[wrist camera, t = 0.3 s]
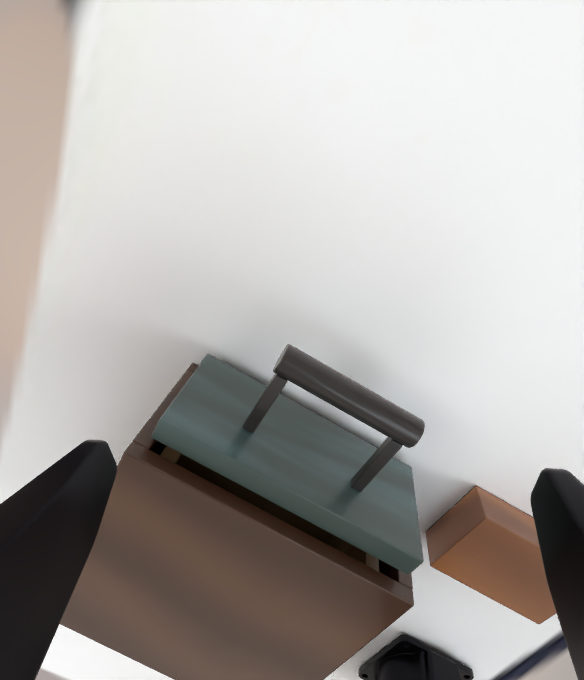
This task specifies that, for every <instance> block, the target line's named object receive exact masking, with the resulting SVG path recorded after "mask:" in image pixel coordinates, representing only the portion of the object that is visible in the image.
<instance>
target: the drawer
mask: <svg viewBox="0 0 584 680" xmlns="http://www.w3.org/2000/svg"><path fill="white" fill-rule="evenodd" d="M273 372H274V373H275V375H274V376H273V378H272V379H271V381H270V383H269V384H268V386H265V385H264V384H262V383H260V382H258V381H256V380H255V379H253V378H251V377H249V376H248V375H246V374H244V373H242V372H240V371H239V370H237V369H235V368H233V367H231V366H230V365H228V364H226V363H224V362H222V361H221V360H219V359H217V358H215V357H214V356H212V355H210V354H207V355H206V357H205V358H204V359H203V361H202V362H201V363H200V365H199V366H198V367H197V369H196V370H195V372H194V373H193V374H192V376H191V377H190V378H189V380H188V381H187V382H186V384H185V385H184V387H183V388H182V389H181V391H180V392H179V393H178V395H177V396H176V398H175V399H174V400H173V402H172V403H171V404H170V406H169V407H168V408H167V410H166V411H165V413H164V414H163V415H162V417H161V418H160V419H159V421H158V423H157V425H156V427H155V429H154V431H153V433H152V435H151V437H152V438H153V439H155V440H157V441H159V442H161V443H162V444H164V445H166V447H165V449H164V450H163V452H162V453H161V455H160V456H162V457H164V458H166V459H168V460H170V461H171V462H173V463H175V464H177V465H179V466H181V467H183V468H185V469H186V470H188V471H190V472H192V473H194V474H196V475H198V476H200V477H201V478H203V479H205V480H207V481H209V482H211V483H213V484H215V485H217V486H218V487H220V488H222V489H224V490H226V491H228V492H230V493H232V494H233V495H235V496H237V497H239V498H241V499H243V500H245V501H247V502H248V503H250V504H252V505H254V506H256V507H258V508H260V509H262V510H264V511H265V512H267V513H269V514H271V515H273V516H275V517H277V518H279V519H280V520H282V521H284V522H286V523H288V524H290V525H292V526H294V527H296V528H297V529H299V530H301V531H303V532H305V533H307V534H309V535H311V536H312V537H314V538H316V539H318V540H320V541H322V542H324V543H326V544H327V545H329V546H331V547H333V548H335V549H337V550H339V551H341V552H343V553H344V554H346V555H348V556H350V557H352V558H354V559H356V560H358V561H359V562H361V563H363V564H365V565H367V566H369V567H371V568H373V569H374V570H376V571H378V572H379V560H381V561H383V562H385V563H387V564H389V565H391V566H393V567H394V568H396V569H398V570H400V571H402V572H404V573H406V574H408V575H409V574H410V573H411V572H412V571H413V570H415V569H416V568H417V567H418V566H419V565H420V564H421V563H423V553H422V545H421V538H420V530H419V522H418V514H417V506H416V499H415V491H414V483H413V475H412V468H411V467H410V466H409V465H407V464H405V463H403V462H401V461H400V460H398V459H396V458H394V457H393V456H394V455H395V454H396V453H397V452H398V451H399V450H400V448H401V447H402V445H404V446H406V447H408V448H411V447H413V446H415V445H416V444H417V443H418V441H419V440H420V438H421V436H422V434H423V432H424V427H425V424H424V421H423V420H421V419H420V418H418V417H416V416H414V415H413V414H411V413H409V412H407V411H406V410H404V409H402V408H400V407H399V406H397V405H395V404H393V403H392V402H390V401H388V400H386V399H385V398H383V397H381V396H379V395H378V394H376V393H374V392H372V391H371V390H369V389H367V388H365V387H364V386H362V385H360V384H358V383H357V382H355V381H353V380H351V379H350V378H348V377H346V376H344V375H343V374H341V373H339V372H337V371H336V370H334V369H332V368H330V367H329V366H327V365H325V364H323V363H322V362H320V361H318V360H316V359H315V358H313V357H311V356H309V355H308V354H306V353H304V352H302V351H300V350H299V349H297V348H295V347H293V346H292V345H290V344H288V345H287V346H286V348H285V349H284V351H283V352H282V354H281V355H280V357H279V359H278V361H277V363H276V365H275V367H274V370H273ZM287 381H290V382H292V383H294V384H296V385H297V386H299V387H301V388H303V389H304V390H306V391H308V392H310V393H312V394H313V395H315V396H317V397H319V398H320V399H322V400H324V401H326V402H328V403H329V404H331V405H333V406H335V407H336V408H338V409H340V410H342V411H344V412H345V413H347V414H349V415H351V416H352V417H354V418H356V419H358V420H360V421H361V422H363V423H365V424H367V425H368V426H370V427H372V428H374V429H376V430H377V431H379V432H381V433H383V434H384V435H386V436H388V437H387V439H386V440H385V441H384V442H383V443H382V444H381V445H380V447H379V448H376V447H375V446H373V445H371V444H369V443H367V442H366V441H364V440H362V439H360V438H358V437H357V436H355V435H353V434H351V433H350V432H348V431H346V430H344V429H342V428H341V427H339V426H337V425H335V424H333V423H332V422H330V421H328V420H326V419H324V418H323V417H321V416H319V415H317V414H316V413H314V412H312V411H310V410H308V409H307V408H305V407H303V406H301V405H299V404H298V403H296V402H294V401H292V400H290V399H289V398H287V397H285V396H283V395H282V394H280V392H281V391H282V389H283V388H284V386H285V384H286V383H287Z"/></svg>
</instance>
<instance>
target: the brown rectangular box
mask: <svg viewBox="0 0 584 680" xmlns="http://www.w3.org/2000/svg"><path fill="white" fill-rule="evenodd" d="M426 539H427V546H428V553H429V560H430V566H432V567H433V568H435V569H437V570H439V571H441V572H443V573H444V574H446V575H448V576H450V577H452V578H454V579H456V580H457V581H459V582H461V583H463V584H465V585H467V586H469V587H470V588H472V589H474V590H476V591H478V592H480V593H482V594H483V595H485V596H487V597H489V598H491V599H493V600H495V601H496V602H498V603H500V604H502V605H504V606H506V607H508V608H509V609H511V610H513V611H515V612H517V613H519V614H521V615H522V616H524V617H526V618H528V619H530V620H532V621H534V622H535V623H537V624H541V623H542V622H544V621H545V620H547V619H548V618H550V617H551V616H553V615H554V614H556V613H557V612H556V609H555V606H554V603H553V600H552V597H551V593H550V590H549V587H548V583H547V579H546V575H545V570H544V565H543V561H542V556H541V551H540V546H539V541H538V536H537V531H536V527H535V522H534V518H533V517H531V516H529V515H528V514H526V513H524V512H522V511H520V510H519V509H517V508H515V507H513V506H512V505H510V504H508V503H506V502H505V501H503V500H501V499H499V498H497V497H496V496H494V495H492V494H490V493H489V492H487V491H485V490H483V489H481V488H480V487H478V486H475V487H474V488H473V489H472V490H471V491H470V492H469V493H468V494H466V495H465V496H464V497H463V498H462V499H461V500H460V501H459V502H458V503H457V504H456V505H455V506H453V507H452V508H451V509H450V510H449V511H448V512H447V513H446V514H445V515H444V516H443V517H442V518H441V519H439V520H438V521H437V522H436V523H435V524H434V525H433V526H432V527H431V528H430V529H429V530H428V531H426Z"/></svg>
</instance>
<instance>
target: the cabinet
mask: <svg viewBox="0 0 584 680" xmlns="http://www.w3.org/2000/svg"><path fill="white" fill-rule="evenodd" d="M197 367H198V366H197V365H195V364H194V363H192V364H191V366H190V367H189V368H188V370H187V371H186V372H185V374H184V375H183V376H182V377H181V379H180V380H179V381H178V383H177V384H176V385H175V387H174V388H173V389H172V390H171V392H170V393H169V394H168V396H167V397H166V398H165V400H164V401H163V402H162V403H161V405H160V406H159V407H158V409H157V410H156V411H155V413H154V414H153V415H152V416H151V418H150V419H149V420H148V422H147V423H146V424H145V426H144V427H143V428H142V430H141V431H140V432H139V433H138V435H137V436H136V437H135V439H134V440H133V442H132V443H131V444H130V445H129V447H128V448H127V449H126V450H125V452H124V454H123V456H122V458H121V460H120V462H119V464H118V466H117V473H116V477H115V480H114V483H113V487H112V490H111V493H110V496H109V499H108V502H107V505H106V509H105V512H104V515H103V518H102V521H101V524H100V527H99V531H98V533H97V536H96V539H95V542H94V544H93V547H92V549H91V552H90V554H89V557H88V559H87V561H86V563H85V566H84V568H83V570H82V573H81V575H80V577H79V580H78V582H77V584H76V586H75V589H74V591H73V593H72V596H71V598H70V600H69V603H68V605H67V607H66V610H65V612H64V614H63V616H62V619H61V621H60V623H59V624H61V625H63V626H65V627H67V628H69V629H71V630H73V631H76V632H78V633H80V634H82V635H84V636H86V637H88V638H90V639H92V640H94V641H96V642H98V643H100V644H102V645H104V646H106V647H108V648H110V649H113V650H115V651H117V652H119V653H121V654H123V655H125V656H127V657H129V658H131V659H133V660H135V661H137V662H139V663H141V664H143V665H145V666H148V667H150V668H152V669H154V670H156V671H158V672H160V673H162V674H164V675H166V676H168V677H170V678H172V679H174V680H324V679H325V678H326V677H327V676H328V675H330V674H331V673H332V672H333V671H335V670H336V669H337V668H338V667H339V666H341V665H342V664H343V663H344V662H346V661H347V660H348V659H349V658H350V657H352V656H353V655H354V654H355V653H356V652H358V651H359V650H360V649H361V648H363V647H364V646H365V645H366V644H367V643H369V642H370V641H371V640H372V639H374V638H375V637H376V636H377V635H378V634H380V633H381V632H382V631H383V630H385V629H386V628H387V627H388V626H389V625H391V624H392V623H393V622H394V621H396V620H397V619H398V618H399V617H400V616H402V615H403V614H404V613H405V612H406V611H408V610H409V609H410V608H411V607H413V605H414V600H413V591H412V588H413V587H412V577H411V573H410V574H409V575H408V574H406V573H404V572H402V571H400V570H398V569H396V568H394V567H393V566H391V565H389V564H387V563H385V562H383V561H381V560H379V572H378V571H376V570H374V569H373V568H371V567H369V566H367V565H365V564H363V563H361V562H359V561H358V560H356V559H354V558H352V557H350V556H348V555H346V554H344V553H343V552H341V551H339V550H337V549H335V548H333V547H331V546H329V545H327V544H326V543H324V542H322V541H320V540H318V539H316V538H314V537H312V536H311V535H309V534H307V533H305V532H303V531H301V530H299V529H297V528H296V527H294V526H292V525H290V524H288V523H286V522H284V521H282V520H280V519H279V518H277V517H275V516H273V515H271V514H269V513H267V512H265V511H264V510H262V509H260V508H258V507H256V506H254V505H252V504H250V503H248V502H247V501H245V500H243V499H241V498H239V497H237V496H235V495H233V494H232V493H230V492H228V491H226V490H224V489H222V488H220V487H218V486H217V485H215V484H213V483H211V482H209V481H207V480H205V479H203V478H201V477H200V476H198V475H196V474H194V473H192V472H190V471H188V470H186V469H185V468H183V467H181V466H179V465H177V464H175V463H173V462H171V461H170V460H168V459H166V458H164V457H162V456H160V455H161V453H162V452H163V450H164V449H165V447H166V445H164V444H162V443H161V442H159V441H157V440H155V439H153V438H152V437H151V435H152V433H153V431H154V429H155V427H156V425H157V423H158V421H159V419H160V418H161V417H162V415H163V414H164V413H165V411H166V410H167V408H168V407H169V406H170V404H171V403H172V402H173V400H174V399H175V398H176V396H177V395H178V393H179V392H180V391H181V389H182V388H183V387H184V385H185V384H186V382H187V381H188V380H189V378H190V377H191V376H192V374H193V373H194V372H195V370H196V369H197Z"/></svg>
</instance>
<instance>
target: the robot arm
mask: <svg viewBox="0 0 584 680" xmlns="http://www.w3.org/2000/svg"><path fill="white" fill-rule="evenodd" d="M116 473H117V465H116V462H115V460H114V457H113V455H112V453H111V450H110V448H109V446H108V444H107V443H106V442H105V441H102V440H86V441H84V442H83V443H81V444H80V445H79V446H77V447H76V448H75V449H73V450H72V451H71V452H69V453H68V454H67V455H65V456H64V457H63V458H61V459H60V460H59V461H57V462H56V463H55V464H53V465H52V466H51V467H49V468H48V469H47V470H45V471H44V472H43V473H41V474H40V475H39V476H37V477H36V478H35V479H33V480H32V481H31V482H29V483H28V484H27V485H25V486H24V487H23V488H21V489H20V490H19V491H17V492H16V493H15V494H13V495H12V496H11V497H9V498H8V499H7V500H5V501H4V502H3V503H1V504H0V680H35V679H36V676H37V674H38V672H39V669H40V667H41V665H42V663H43V660H44V658H45V656H46V653H47V651H48V649H49V646H50V644H51V642H52V639H53V637H54V635H55V633H56V630H57V628H58V626H59V623H60V621H61V619H62V616H63V614H64V612H65V610H66V607H67V605H68V603H69V600H70V598H71V596H72V593H73V591H74V589H75V586H76V584H77V582H78V580H79V577H80V575H81V573H82V570H83V568H84V566H85V563H86V561H87V559H88V557H89V554H90V552H91V549H92V547H93V544H94V542H95V539H96V536H97V533H98V531H99V527H100V524H101V521H102V518H103V515H104V512H105V509H106V505H107V502H108V499H109V496H110V493H111V490H112V487H113V483H114V480H115V477H116ZM531 507H532V512H533V517H534V522H535V527H536V531H537V536H538V541H539V546H540V551H541V556H542V561H543V565H544V570H545V575H546V579H547V583H548V587H549V590H550V593H551V597H552V600H553V603H554V606H555V609H556V612H557V615H558V619H559V622H560V625H561V628H562V631H563V634H564V637H565V640H566V643H567V647H568V650H569V653H570V656H571V659H572V662H573V665H574V668H575V671H576V674H577V677H578V680H584V485H583V484H582V483H581V482H580V481H579V480H578V479H577V478H576V477H575V476H574V475H573V474H571V473H570V472H569V471H567V470H564V469H551V468H546V469H544V470H542V471H541V473H540V475H539V477H538V480H537V482H536V484H535V486H534V489H533V491H532V493H531ZM359 677H360V678H362V679H363V680H472V679H473V678H474V676H473V671H472V669H470V668H469V667H467V666H465V665H463V664H461V663H459V662H457V661H455V660H453V659H452V658H450V657H448V656H446V655H444V654H442V653H440V652H438V651H436V650H434V649H432V648H430V647H428V646H427V645H425V644H423V643H421V642H419V641H417V640H415V639H413V638H411V637H409V636H407V635H401V636H399V637H398V638H397V639H395V640H394V641H393V642H392V643H390V644H389V645H388V646H387V647H385V648H384V649H383V650H381V651H380V652H379V653H378V654H376V655H375V656H374V657H373V658H371V659H370V660H369V661H368V662H366V663H365V664H364V665H362V666H361V667H360V668H359Z"/></svg>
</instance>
